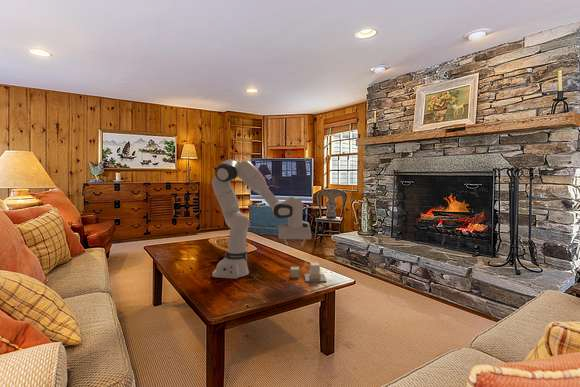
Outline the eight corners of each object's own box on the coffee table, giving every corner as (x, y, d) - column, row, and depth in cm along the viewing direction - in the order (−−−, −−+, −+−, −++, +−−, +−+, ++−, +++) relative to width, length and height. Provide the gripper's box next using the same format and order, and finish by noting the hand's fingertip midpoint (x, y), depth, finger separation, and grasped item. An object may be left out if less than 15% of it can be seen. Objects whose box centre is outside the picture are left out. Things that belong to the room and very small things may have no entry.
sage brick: (290, 277, 187) (290, 269, 187) (290, 274, 192) (290, 266, 192) (299, 277, 187) (299, 269, 187) (298, 274, 192) (298, 266, 192)
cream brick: (311, 273, 182) (311, 265, 181) (310, 270, 187) (310, 262, 186) (319, 273, 182) (319, 265, 181) (318, 270, 187) (318, 262, 186)
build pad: (305, 282, 179) (305, 275, 178) (304, 275, 191) (304, 269, 190) (326, 282, 179) (326, 275, 178) (323, 275, 191) (323, 269, 190)
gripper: (277, 224, 184) (277, 247, 185) (312, 224, 184) (311, 247, 185) (278, 222, 190) (277, 244, 191) (311, 222, 191) (310, 244, 191)
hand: (294, 246), depth 188 cm, fingers open, 8 cm apart
